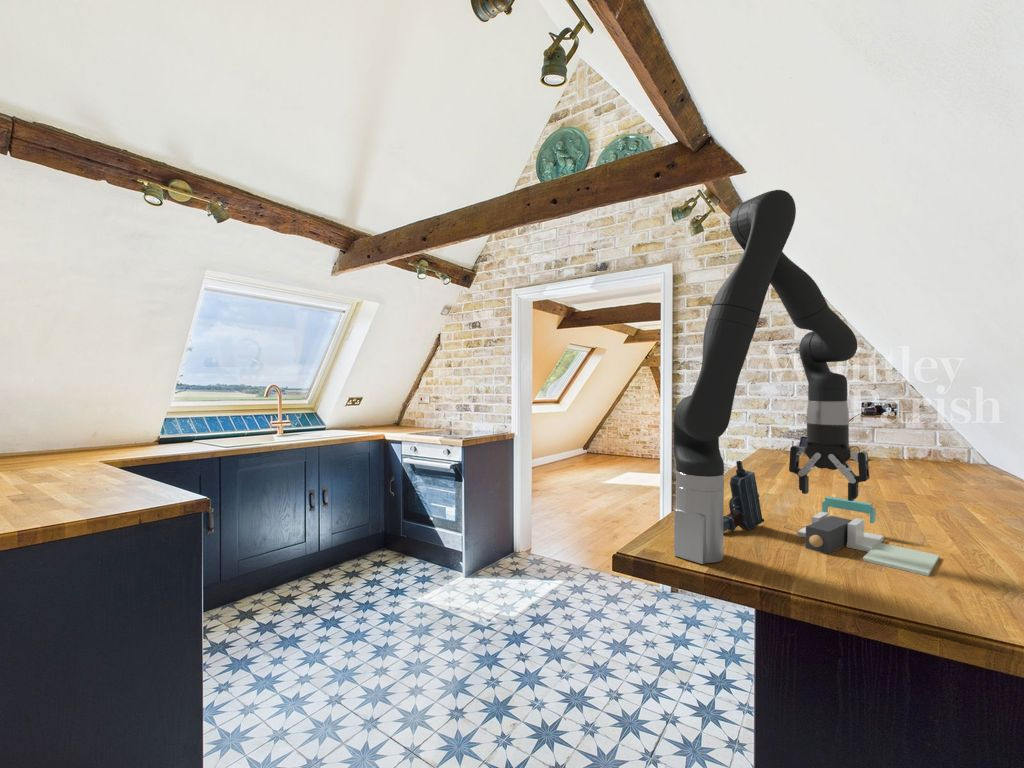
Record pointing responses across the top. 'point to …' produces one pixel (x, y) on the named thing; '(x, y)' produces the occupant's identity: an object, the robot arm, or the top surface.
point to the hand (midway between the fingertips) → (827, 496)
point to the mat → (902, 558)
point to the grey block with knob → (827, 534)
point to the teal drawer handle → (849, 506)
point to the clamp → (851, 533)
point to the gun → (743, 501)
